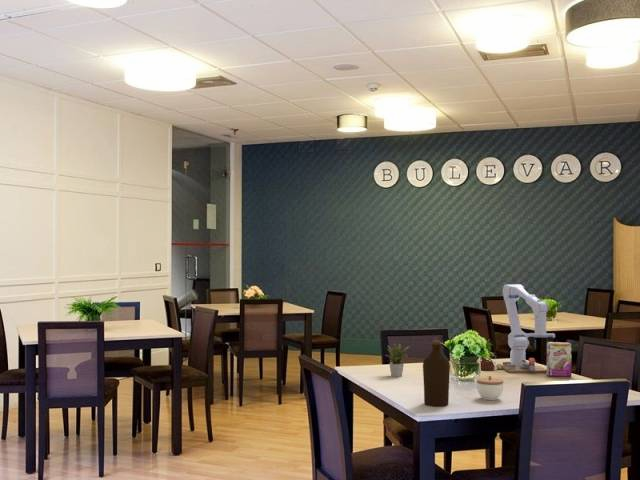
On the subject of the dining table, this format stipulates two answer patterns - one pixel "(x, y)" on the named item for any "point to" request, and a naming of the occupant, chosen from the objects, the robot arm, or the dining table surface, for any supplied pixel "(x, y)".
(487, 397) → the lidded jar
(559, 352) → the candy bar box
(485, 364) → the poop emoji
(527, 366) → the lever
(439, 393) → the olive oil
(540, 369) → the board
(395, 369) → the house plant
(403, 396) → the dining table surface
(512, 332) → the robot arm
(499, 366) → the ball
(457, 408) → the dining table surface
